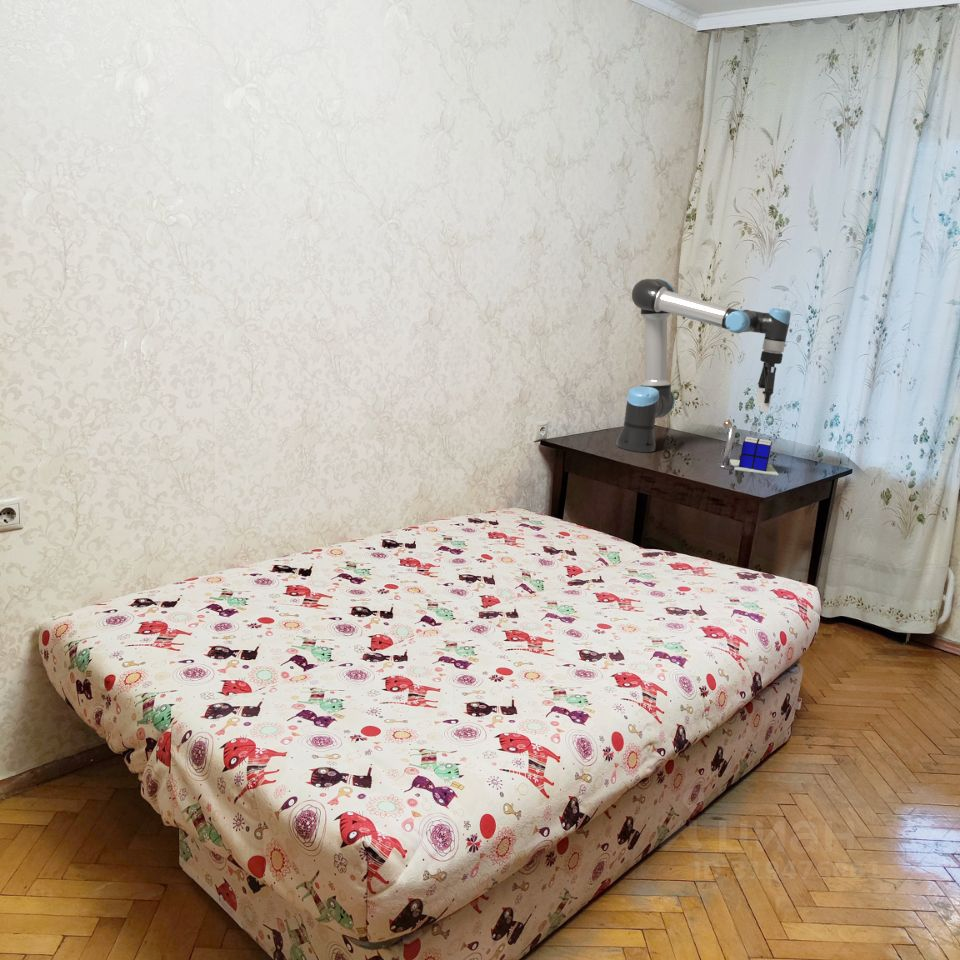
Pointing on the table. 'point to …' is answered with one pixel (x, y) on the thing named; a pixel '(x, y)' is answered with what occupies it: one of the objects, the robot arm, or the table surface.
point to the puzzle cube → (755, 453)
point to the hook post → (728, 446)
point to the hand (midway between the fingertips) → (761, 408)
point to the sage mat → (769, 470)
